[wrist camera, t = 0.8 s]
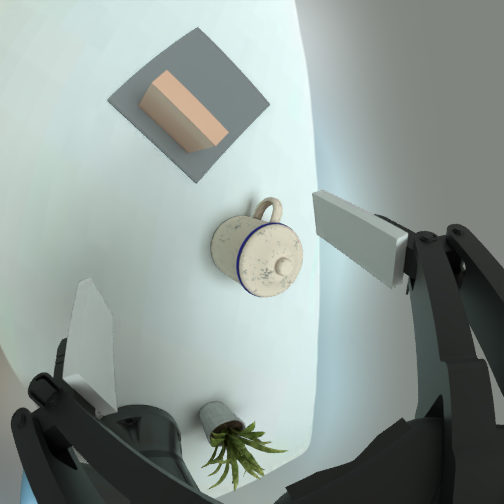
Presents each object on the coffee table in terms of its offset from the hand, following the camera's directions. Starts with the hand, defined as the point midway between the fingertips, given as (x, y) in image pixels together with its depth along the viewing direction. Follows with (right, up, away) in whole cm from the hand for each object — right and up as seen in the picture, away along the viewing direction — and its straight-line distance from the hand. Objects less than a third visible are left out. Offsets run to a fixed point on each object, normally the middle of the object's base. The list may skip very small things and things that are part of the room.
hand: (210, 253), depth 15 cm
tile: (-8, +16, +16) cm, 24 cm away
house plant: (-6, -29, +30) cm, 42 cm away
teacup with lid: (+1, +2, +26) cm, 26 cm away
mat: (-5, +20, +17) cm, 27 cm away
